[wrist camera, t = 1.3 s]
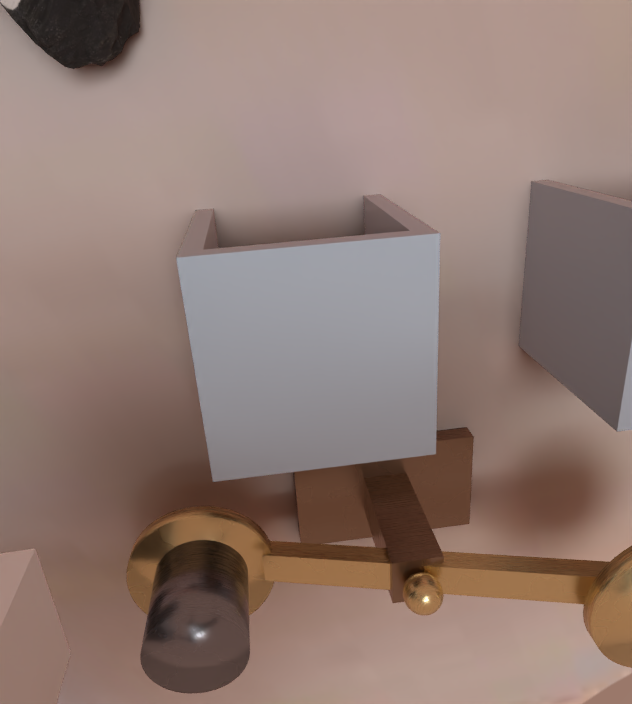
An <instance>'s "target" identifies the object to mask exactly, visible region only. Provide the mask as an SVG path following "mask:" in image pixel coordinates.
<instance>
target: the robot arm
mask: <svg viewBox="0 0 632 704" xmlns="http://www.w3.org/2000/svg"><path fill="white" fill-rule="evenodd" d="M70 655H71V651H70V648H69V645H68V642H67V639H66V636H65V634H64V631H63V628H62V625H61V622H60V619H59V616H58V613H57V610H56V607H55V604H54V601H53V598H52V595H51V593H50V590H49V587H48V584H47V581H46V578H45V575H44V572H43V569H42V566H41V563H40V560H39V557H38V554H37V552H36V549H35V548H34V549H27V550H20V551H14V552H7V553H0V704H56V703H57V700H58V696H59V693H60V689H61V686H62V682H63V679H64V675H65V672H66V669H67V665H68V662H69V658H70Z"/></svg>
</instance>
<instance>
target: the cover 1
mask: <svg viewBox="0 0 632 704" xmlns="http://www.w3.org/2000/svg"><path fill="white" fill-rule="evenodd" d="M364 226H365V235H356V236H345V237H334V238H324V239H313V240H302V241H291V242H280V243H269V244H258V245H247V246H237V247H226V248H219V247H218V240H217V232H216V225H215V217H214V210H213V209H203V210H196V211H195V213H194V216H193V218H192V220H191V223H190V225H189V228H188V230H187V233H186V235H185V237H184V240H183V242H182V245H181V247H180V250H179V252H178V254H177V257H176V260H177V266H178V272H179V278H180V284H181V290H182V297H183V303H184V309H185V315H186V321H187V327H188V333H189V339H190V345H191V351H192V357H193V364H194V370H195V376H196V382H197V388H198V394H199V400H200V406H201V412H202V418H203V425H204V431H205V437H206V443H207V449H208V455H209V461H210V467H211V473H212V479H213V482H217V481H225V480H233V479H241V478H249V477H257V476H265V475H273V474H281V473H289V472H297V471H305V470H313V469H321V468H329V467H337V466H345V465H353V464H361V463H369V462H377V461H385V460H393V459H401V458H409V457H417V456H425V455H433V454H436V427H437V375H438V323H439V270H440V233H439V232H438V231H436V230H434V229H433V228H431V227H430V226H428V225H427V224H425V223H424V222H422V221H421V220H419V219H418V218H416V217H415V216H413V215H411V214H410V213H408V212H407V211H405V210H404V209H402V208H401V207H399V206H398V205H396V204H395V203H393V202H391V201H390V200H388V199H387V198H385V197H384V196H382V195H381V194H377V195H366V196H364Z"/></svg>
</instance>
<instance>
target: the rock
mask: <svg viewBox="0 0 632 704" xmlns="http://www.w3.org/2000/svg"><path fill="white" fill-rule="evenodd" d="M0 3H1V4H2V6H3V7H4V9H5V10H6V11H7V12H8V13H9V15H10V16H11V17H12V18H13V19H14V20H15V22H16V23H17V24H18V25H19V26H20V27H21V28H22V29H23V30H24V31H25V32H26V33H27V35H28V36H29V37H30V38H31V39H32V40H33V41H34V42H35V43H36V44H37V45H38V46H40V47H41V48H42V49H43V50H44V51H45V52H46V53H47V54H48V55H50V56H51V57H52V58H54V59H55V60H57V61H58V62H59V63H61V64H62V65H64V66H65V67H69V68H73V69H74V68H80V67H82V66H84V65H88V64H96V65H100V66H103V65H104V64H105V63H106V62H107V61H109V60H112V59H114V58H115V57H116V56H117V55H118V54H119V53H121V52H122V49H123V46H124V43H125V42H126V40H127V39H128V38H129V37H130V36H132V35H133V34H135V33H136V32H138V31H139V28H140V24H139V22H140V10H139V0H0Z"/></svg>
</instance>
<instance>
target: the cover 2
mask: <svg viewBox="0 0 632 704" xmlns="http://www.w3.org/2000/svg"><path fill="white" fill-rule="evenodd" d="M519 347H521V348H522V349H523V350H524V351H525V352H526V353H527V354H529V355H530V356H531V357H532V358H533V359H534V360H535V361H537V362H538V363H539V364H540V365H541V366H542V367H543V368H545V369H546V370H547V371H548V372H549V373H550V374H552V375H553V376H554V377H555V378H556V379H557V380H558V381H560V382H561V383H562V384H563V385H564V386H565V387H566V388H568V389H569V390H570V391H571V392H572V393H573V394H574V395H576V396H577V397H578V398H579V399H580V400H581V401H583V402H584V403H585V404H586V405H587V406H588V407H589V408H591V409H592V410H593V411H594V412H595V413H596V414H597V415H599V416H600V417H601V418H602V419H603V420H604V421H605V422H607V423H608V424H609V425H610V426H611V427H612V428H613V429H615V430H616V431H625V430H632V201H630V200H626V199H622V198H618V197H614V196H610V195H606V194H602V193H598V192H594V191H590V190H586V189H582V188H578V187H574V186H570V185H566V184H562V183H558V182H554V181H550V180H539V181H532V182H531V195H530V207H529V220H528V233H527V245H526V258H525V271H524V284H523V296H522V309H521V322H520V334H519Z"/></svg>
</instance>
